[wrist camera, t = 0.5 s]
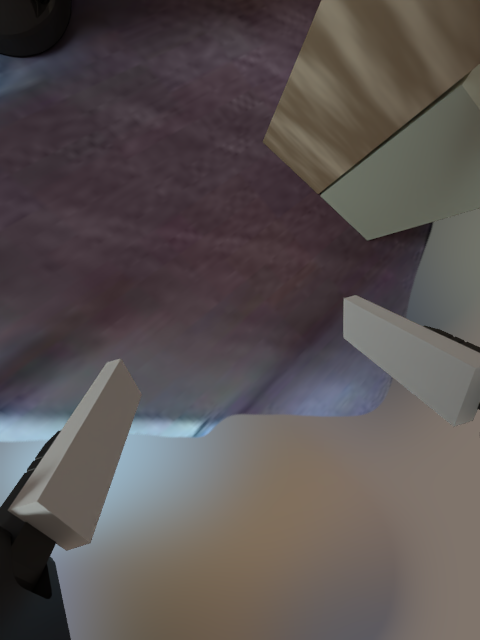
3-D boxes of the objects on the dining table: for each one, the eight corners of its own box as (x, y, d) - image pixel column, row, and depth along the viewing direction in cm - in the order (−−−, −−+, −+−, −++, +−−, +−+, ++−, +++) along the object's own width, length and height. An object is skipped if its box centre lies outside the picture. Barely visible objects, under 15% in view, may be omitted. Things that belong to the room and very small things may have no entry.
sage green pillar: (367, 240, 38) (537, 191, 19) (320, 195, 36) (461, 84, 16) (418, 166, 38) (645, 39, 19) (374, 115, 35) (587, -97, 16)
